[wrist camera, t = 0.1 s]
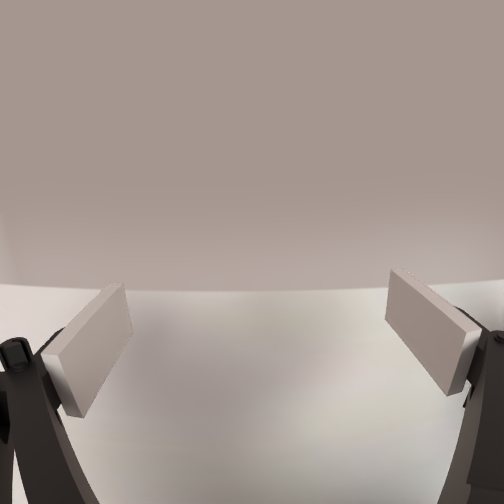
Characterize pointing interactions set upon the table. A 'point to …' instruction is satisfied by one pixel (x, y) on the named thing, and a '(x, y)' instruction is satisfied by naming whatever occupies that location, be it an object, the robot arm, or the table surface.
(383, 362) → the table surface
